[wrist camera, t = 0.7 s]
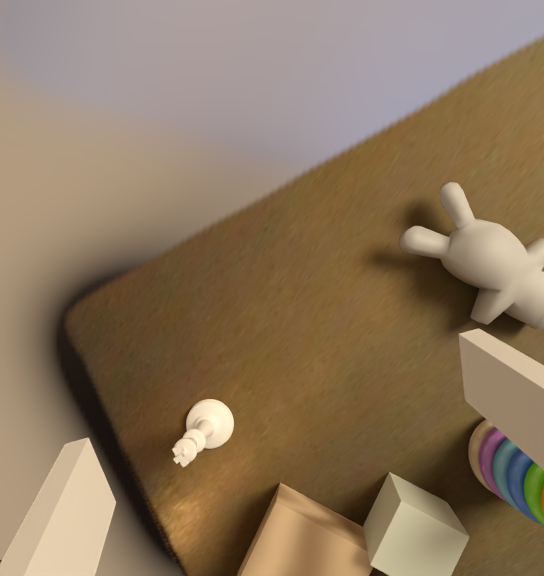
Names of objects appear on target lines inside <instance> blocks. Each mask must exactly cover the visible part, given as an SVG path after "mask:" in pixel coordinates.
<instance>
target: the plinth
mask: <svg viewBox="0 0 544 576" xmlns="http://www.w3.org/2000/svg"><path fill="white" fill-rule="evenodd" d="M372 569H373V566H371V565H370V562H369V556H368V551H367V546H366V541H365V536H364V531H363V527H362V526H360V525H358V524H356V523H354V522H353V521H351V520H349V519H347V518H345V517H343V516H341V515H340V514H338V513H336V512H334V511H332V510H330V509H328V508H327V507H325V506H323V505H321V504H319V503H317V502H315V501H314V500H312V499H310V498H308V497H306V496H304V495H302V494H301V493H299V492H297V491H295V490H293V489H291V488H289V487H288V486H286V485H284V484H282V483H280V484H279V486H278V489H277V491H276V493H275V495H274V497H273V499H272V501H271V503H270V505H269V507H268V509H267V512H266V514H265V516H264V518H263V520H262V522H261V524H260V526H259V528H258V530H257V533H256V535H255V537H254V539H253V541H252V543H251V545H250V547H249V549H248V551H247V553H246V556H245V558H244V560H243V562H242V564H241V566H240V568H239V570H238V573H237V576H369V575H370V573H371V571H372Z"/></svg>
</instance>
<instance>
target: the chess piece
mask: <svg viewBox="0 0 544 576" xmlns="http://www.w3.org/2000/svg"><path fill="white" fill-rule="evenodd" d="M233 427H234V420H233V416H232V413H231V412H230V410H229V408H228V407H227V406H226V405H225V404H223V403H222V402H220V401H218V400H214V399H206V400H202V401H200V402H198V403H197V404H195V405H194V406H193V407H192V409H191V410H190V412H189V414H188V416H187V420H186V428H187V432H186V433H185V434H184V436H183V438H182V439H180V440H179V441H177V443H176V444H175V446H174V448H173V449H172V450H173V452H174V454H175V458H174V461H175V462H176V464H177V463H178V462H180V463H181V465H182V466H183V467H184V466H186V465H187V464H188V463H189V462H191V461H192V460H193V459H194V458H195V457H196V455H197V453H198V452H200V451H201V450H203V448H208V449H211V448H216V447H219V446H221V445H222V444H224V443H225V442H226V441H227V440H228V439H229V438H230V436H231V434H232V432H233Z"/></svg>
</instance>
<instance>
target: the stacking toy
mask: <svg viewBox="0 0 544 576" xmlns="http://www.w3.org/2000/svg"><path fill="white" fill-rule="evenodd" d="M468 455H469V461H470V465H471V468H472V470H473V472H474V474H475V476H476V477H477V479H478V480H479V481H480V482H481V483H482V484H483V485H484V486H485V487H486V488H487V489H488V490H490V491H491V492H493V493H494V494H496V495H497V496H498V497H500V498H501V499H502V500H504V501H506V502H508V503H509V504H510V505H511V506H513V507H514V508H516V509H517V510H519V511H520V512H522V513H524V514H525V515H526V516H527V517H529V518H530V519H532V520H533V521H535V522H537V523H539V524H542V525H544V470H543V469H542V468H541V467H540V466H539V465H537V464H536V463H535V462H534V461H533V460H532V459H531V458H530V457H528V456H527V455H526V454H525V453H524V452H523V451H522V450H521V449H519V448H518V447H517V446H516V445H515V444H514V443H513V442H512V441H510V440H509V439H508V438H507V437H506V436H505V435H504V434H503V433H501V432H500V431H499V430H498V429H497V428H496V427H495V426H494V425H492V424H491V423H490V422H489V421H488V420H487V419H485V420H484V421H483V422H481V423H480V424H479V425H478V426H477V428H476V429H475V430H474V432H473V434H472V436H471V438H470V441H469V447H468Z"/></svg>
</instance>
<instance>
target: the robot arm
mask: <svg viewBox="0 0 544 576" xmlns="http://www.w3.org/2000/svg"><path fill="white" fill-rule="evenodd" d="M459 342H460V353H461V363H462V373H463V383H464V394H465V401H467V402H468V403H469V404H470V405H471V406H472V407H473V408H474V409H476V410H477V411H478V412H479V413H480V414H481V415H482V416H483V417H485V418H486V419H487V420H488V421H489V422H490V423H491V424H492V425H494V426H495V427H496V428H497V429H498V430H499V431H500V432H501V433H503V434H504V435H505V436H506V437H507V438H508V439H509V440H510V441H512V442H513V443H514V444H515V445H516V446H517V447H518V448H519V449H521V450H522V451H523V452H524V453H525V454H526V455H527V456H528V457H530V458H531V459H532V460H533V461H534V462H535V463H536V464H537V465H539V466H540V467H541V468H542V469H543V470H544V366H543V365H542V364H540V363H538V362H536V361H535V360H533V359H531V358H529V357H528V356H526V355H524V354H523V353H521V352H519V351H517V350H516V349H514V348H512V347H510V346H509V345H507V344H505V343H503V342H502V341H500V340H498V339H496V338H495V337H493V336H491V335H489V334H488V333H486V332H484V331H483V330H481V329H479V328H478V329H475V330H471V331H467V332H464V333H460V334H459ZM115 505H116V501H115V499H114V496H113V494H112V492H111V489H110V487H109V485H108V482H107V480H106V478H105V475H104V473H103V471H102V468H101V466H100V464H99V461H98V459H97V457H96V454H95V452H94V450H93V447H92V445H91V442H90V440H89V438H85V439H81V440H78V441H74V442H70V443H67V444H65V445H64V447H63V449H62V451H61V452H60V455H59V456H58V458H57V460H56V462H55V464H54V465H53V467H52V469H51V471H50V473H49V475H48V477H47V478H46V480H45V482H44V484H43V486H42V488H41V489H40V491H39V493H38V495H37V497H36V499H35V500H34V502H33V504H32V506H31V508H30V510H29V511H28V513H27V515H26V517H25V519H24V521H23V523H22V525H21V526H20V528H19V530H18V532H17V534H16V535H15V537H14V539H13V541H12V543H11V545H10V546H9V548H8V550H7V552H6V554H5V556H4V558H3V559H2V560H0V576H95V574H96V570H97V567H98V563H99V560H100V556H101V553H102V549H103V546H104V542H105V539H106V536H107V532H108V529H109V525H110V522H111V518H112V515H113V512H114V508H115Z"/></svg>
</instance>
